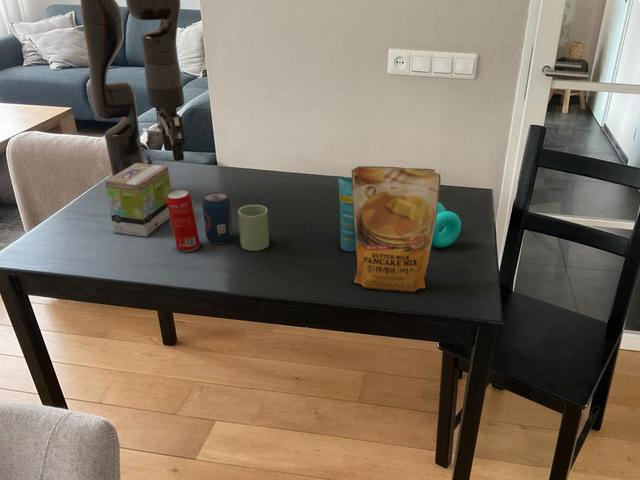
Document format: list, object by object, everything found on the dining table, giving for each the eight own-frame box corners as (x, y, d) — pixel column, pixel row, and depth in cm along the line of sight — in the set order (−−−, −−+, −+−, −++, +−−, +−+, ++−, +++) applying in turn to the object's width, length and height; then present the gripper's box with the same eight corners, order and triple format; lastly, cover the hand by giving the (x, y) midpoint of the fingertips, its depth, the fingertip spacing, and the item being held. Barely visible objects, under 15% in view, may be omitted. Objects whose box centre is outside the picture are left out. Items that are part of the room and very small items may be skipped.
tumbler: (236, 241, 153) (233, 207, 148) (263, 235, 156) (260, 202, 151) (246, 253, 147) (244, 218, 143) (273, 247, 151) (272, 213, 146)
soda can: (204, 235, 155) (199, 193, 149) (230, 231, 158) (226, 189, 152) (209, 246, 150) (204, 203, 144) (236, 242, 152) (232, 199, 146)
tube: (333, 249, 151) (334, 178, 141) (340, 241, 155) (340, 172, 145) (361, 254, 149) (363, 183, 139) (366, 245, 153) (369, 176, 143)
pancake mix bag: (350, 273, 140) (353, 161, 126) (430, 279, 139) (442, 166, 125) (347, 287, 134) (349, 171, 120) (430, 294, 133) (442, 178, 119)
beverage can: (204, 245, 150) (198, 191, 142) (185, 255, 145) (177, 199, 138) (188, 239, 153) (181, 185, 145) (169, 249, 148) (160, 194, 140)
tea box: (148, 237, 153) (139, 184, 146) (113, 233, 155) (102, 180, 147) (175, 214, 166) (168, 164, 158) (142, 210, 167) (134, 161, 160)
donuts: (428, 252, 151) (431, 217, 145) (409, 236, 158) (411, 202, 153) (460, 245, 154) (465, 211, 149) (440, 230, 162) (444, 196, 157)
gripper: (190, 89, 125) (199, 161, 133) (173, 75, 135) (181, 143, 144) (154, 92, 121) (165, 166, 130) (139, 78, 132) (150, 147, 140)
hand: (174, 154), depth 137 cm, fingers open, 8 cm apart
